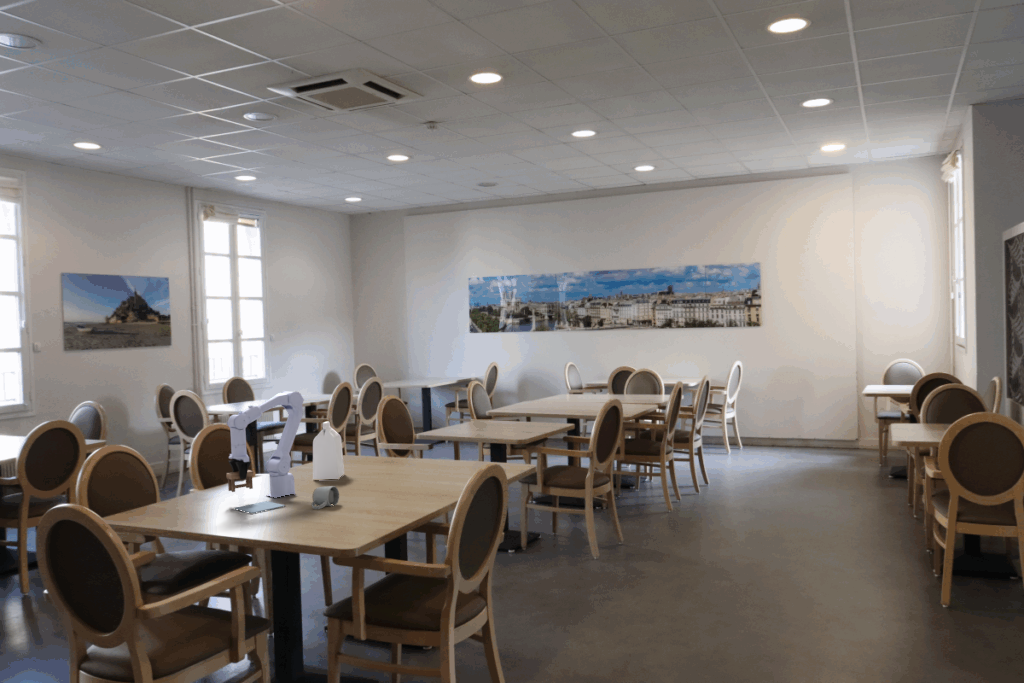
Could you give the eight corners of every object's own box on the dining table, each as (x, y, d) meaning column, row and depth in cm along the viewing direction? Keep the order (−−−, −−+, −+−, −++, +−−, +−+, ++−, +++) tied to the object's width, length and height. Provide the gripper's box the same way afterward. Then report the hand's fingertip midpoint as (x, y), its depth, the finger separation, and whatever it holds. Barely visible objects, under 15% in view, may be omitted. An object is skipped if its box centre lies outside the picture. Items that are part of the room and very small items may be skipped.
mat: (266, 502, 308) (266, 501, 308) (285, 506, 299) (285, 505, 299) (233, 509, 298) (233, 508, 298) (251, 514, 289) (251, 512, 289)
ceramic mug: (322, 503, 303) (321, 483, 303) (340, 503, 300) (339, 484, 300) (306, 509, 293) (305, 489, 293) (324, 510, 290) (323, 490, 290)
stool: (248, 486, 313) (248, 469, 313) (254, 488, 309) (253, 471, 309) (227, 490, 307) (226, 473, 307) (232, 492, 303) (231, 474, 303)
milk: (320, 475, 363) (317, 421, 363) (344, 474, 363) (341, 420, 362) (312, 480, 351) (310, 424, 351) (337, 479, 351) (334, 423, 350)
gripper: (221, 444, 310) (223, 477, 310) (236, 447, 300) (238, 481, 300) (238, 442, 315) (240, 474, 315) (253, 444, 304) (255, 478, 304)
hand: (240, 478), depth 308 cm, fingers closed on stool, 5 cm apart
